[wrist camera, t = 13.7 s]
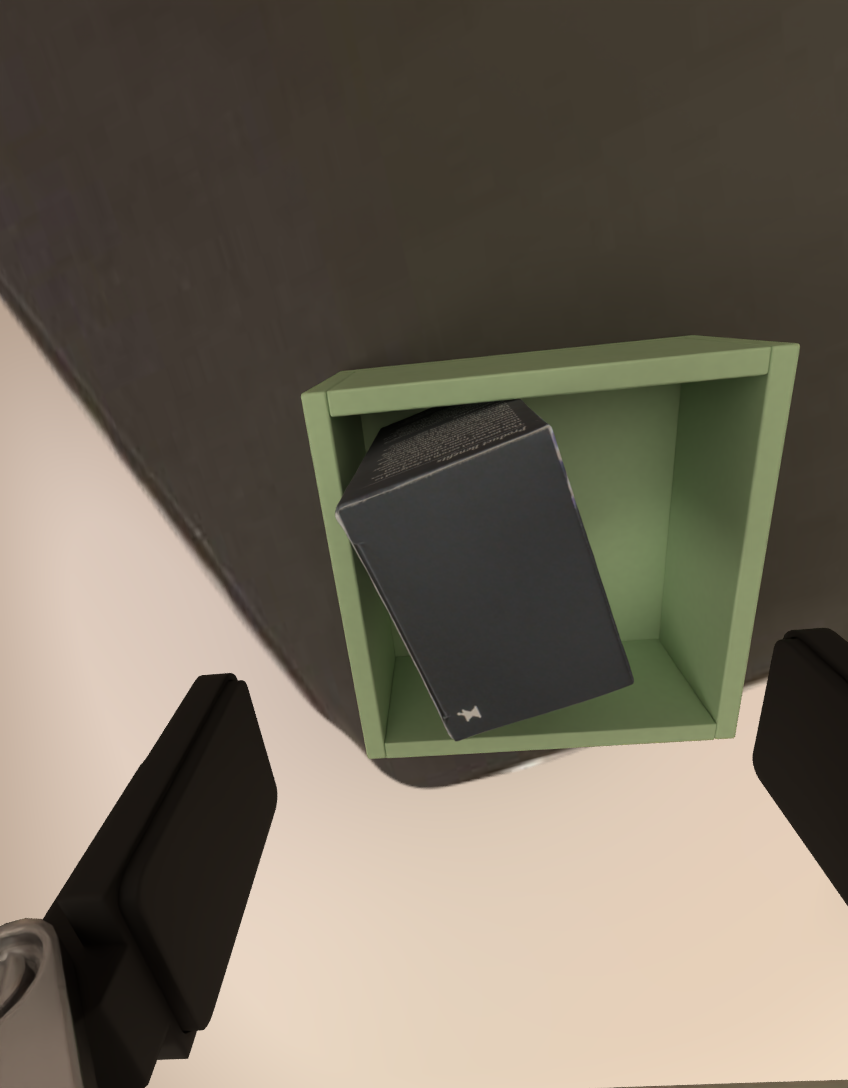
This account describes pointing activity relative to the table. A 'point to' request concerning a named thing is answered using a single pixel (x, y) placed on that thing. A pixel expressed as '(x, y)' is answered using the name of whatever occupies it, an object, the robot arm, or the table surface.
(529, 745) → the bin
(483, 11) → the table surface
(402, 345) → the table surface
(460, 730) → the box
